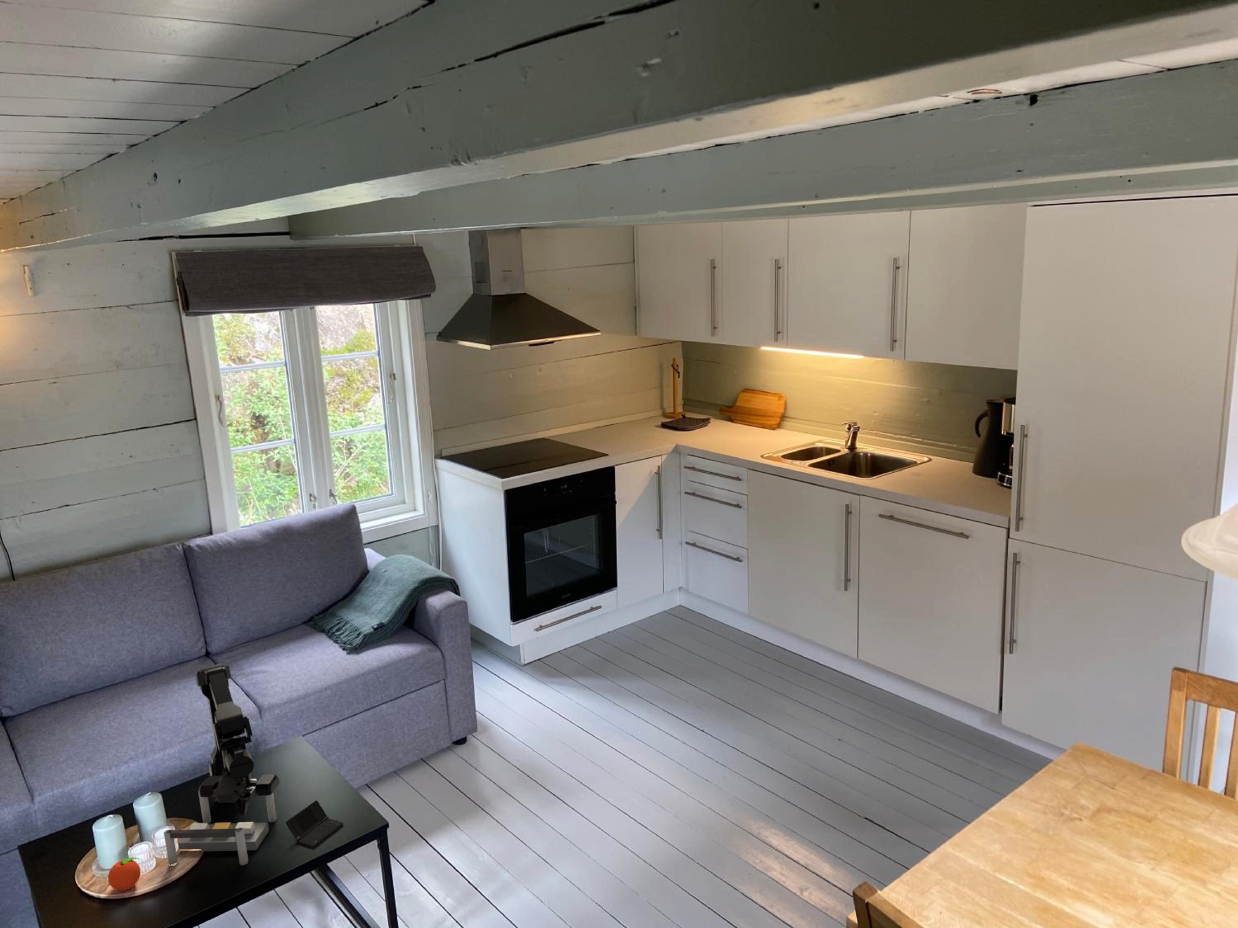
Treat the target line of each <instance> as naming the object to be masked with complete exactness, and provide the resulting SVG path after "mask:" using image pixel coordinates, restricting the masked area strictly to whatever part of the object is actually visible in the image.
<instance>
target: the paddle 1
mask: <svg viewBox="0 0 1238 928" xmlns="http://www.w3.org/2000/svg"><path fill="white" fill-rule="evenodd" d="M208 824H209V823H203V822H199V823H198V822H197V823H194V822H193V823H192V824H191V826H190V828H189V829H190V830H192V829H210V827H209V825H208Z"/></svg>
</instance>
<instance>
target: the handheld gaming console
mask: <svg viewBox="0 0 1238 928" xmlns="http://www.w3.org/2000/svg"><path fill="white" fill-rule="evenodd" d="M285 825H286V826H287V829H288V830H289V831H290V833H291V835H292V836H293V838H294V839H295V840H296V844H299V845H302V846H304V847H308V848H310V849H315V848H316V847H318V846H319V845H320V844H322V843H323V842H324V841H326V839H328V838H330V836H331V835H333V834H335V833H336V832H338V830H340V828H343V826H344V822H343V821H338V820H335V819H332V818H329V816H327V814H326V812H325V811H324V809H323V807H322V805H321V804H320V803H319V801H318V800H314V801H313V802H311V803H310V804H309V805H307V806H306V807H305V808H303V809H302V810H301V811H299V812H298V813H296V814H294V815H293V816H292V817H290V818H289V819H288V820H286V822H285Z"/></svg>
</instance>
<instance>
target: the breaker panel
mask: <svg viewBox="0 0 1238 928" xmlns="http://www.w3.org/2000/svg"><path fill="white" fill-rule="evenodd" d="M253 823H254V826H255V829H254V832H253V833H252V834H244V836H245V842H246V849H247V851H256V850H258V848H259V847H260V846H261V843H262V842H263V841H264V839H265V837H266V836H267V835H268V834H269V832H270V829H269V823H268V822H253ZM237 824H238V822H237V823H231V825H232V829H235V828H236V826H237ZM208 825H209V827H210V829H213V827H214V825H215V823H208ZM188 830H190V828H189V829H188ZM177 845H178V850H179V849H201V850H203V851H202V852H225V851H227V852H229V851H230V852H231V851H233V852H236V851H237V852H238V849H237V842H236V837H209V838H180V840H179V842H178V843H177Z"/></svg>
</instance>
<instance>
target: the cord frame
mask: <svg viewBox="0 0 1238 928" xmlns="http://www.w3.org/2000/svg"><path fill="white" fill-rule="evenodd" d="M215 791H216V790H214V794H213V795H212V796H211V797H210V798H216V795H215ZM255 796H256V797H260V796H259V795H257V794H256V793H255V792H254V793H253V795H252V796H251V797H255ZM198 798H199V803H200V804H199V806H200V811H201V817H202V823H208V824H211V822H212V818H211V817H212V816H211V809H210V805H209V797H200V795H199V790H198ZM264 799H265V803H266V811H267V818H268V822H269V823H274V822H276V821H277V812H276V811H277V810H276V806H275V805H276V804H275V798H274V792H273V793H272V794H271V795H269V796H264ZM163 837H164V843H165V848H166V854H167V855H166V856H167V860H168V865H169V864H170V865H171V864H174V863H177V861H178V855H177V850H176V849H177V848H176V843H175V839H182V838H209V837H236V842H237V849H238V851H237V855H238V861H239V865H240V866H245V865H247V864H248V863H249V857H248V852H247V851H248V850H247V849H246V842H245V836H244V829H243V828H236V829H192V830H189V829H172V828H170V829H166V830H164V831H163ZM178 862H179V861H178Z"/></svg>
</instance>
